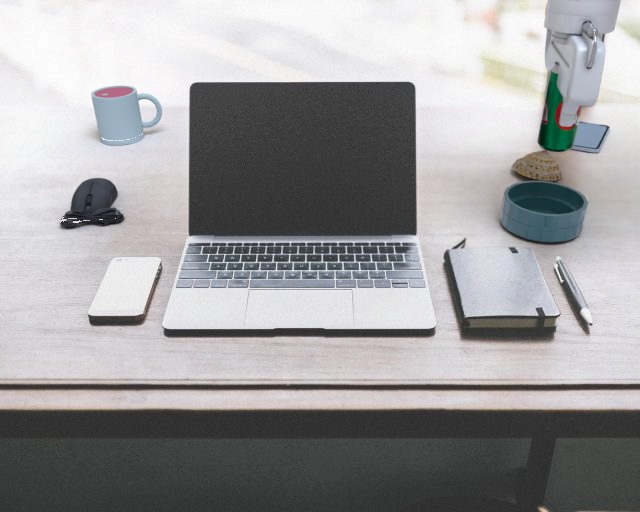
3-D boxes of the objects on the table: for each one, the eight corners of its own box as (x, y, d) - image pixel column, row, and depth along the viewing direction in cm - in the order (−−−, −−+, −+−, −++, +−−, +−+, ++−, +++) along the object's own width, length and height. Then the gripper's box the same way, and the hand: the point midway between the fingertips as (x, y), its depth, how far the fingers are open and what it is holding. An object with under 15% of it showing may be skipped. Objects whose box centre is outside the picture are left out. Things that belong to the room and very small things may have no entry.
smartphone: (560, 144, 124) (574, 120, 135) (559, 148, 125) (574, 124, 136) (599, 150, 121) (611, 125, 132) (598, 154, 122) (610, 129, 133)
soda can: (541, 138, 93) (555, 57, 87) (576, 144, 91) (593, 61, 85) (532, 149, 90) (547, 65, 83) (569, 155, 88) (587, 70, 81)
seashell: (506, 154, 117) (549, 139, 114) (514, 179, 119) (556, 165, 117) (514, 171, 110) (560, 156, 107) (522, 198, 112) (567, 183, 110)
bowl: (573, 210, 102) (579, 182, 99) (588, 248, 91) (595, 218, 89) (496, 206, 103) (500, 178, 101) (503, 242, 93) (508, 213, 91)
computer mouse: (131, 186, 112) (127, 167, 110) (124, 224, 100) (120, 203, 98) (73, 192, 111) (68, 172, 109) (59, 230, 99) (53, 209, 97)
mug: (99, 147, 129) (89, 100, 124) (101, 132, 137) (92, 87, 132) (166, 141, 132) (159, 94, 127) (165, 126, 140) (158, 82, 134)
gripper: (626, 32, 72) (600, 144, 79) (590, 1, 89) (571, 96, 96) (569, 30, 73) (548, 142, 80) (544, 1, 90) (529, 95, 97)
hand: (560, 117), depth 88 cm, fingers closed on soda can, 5 cm apart
